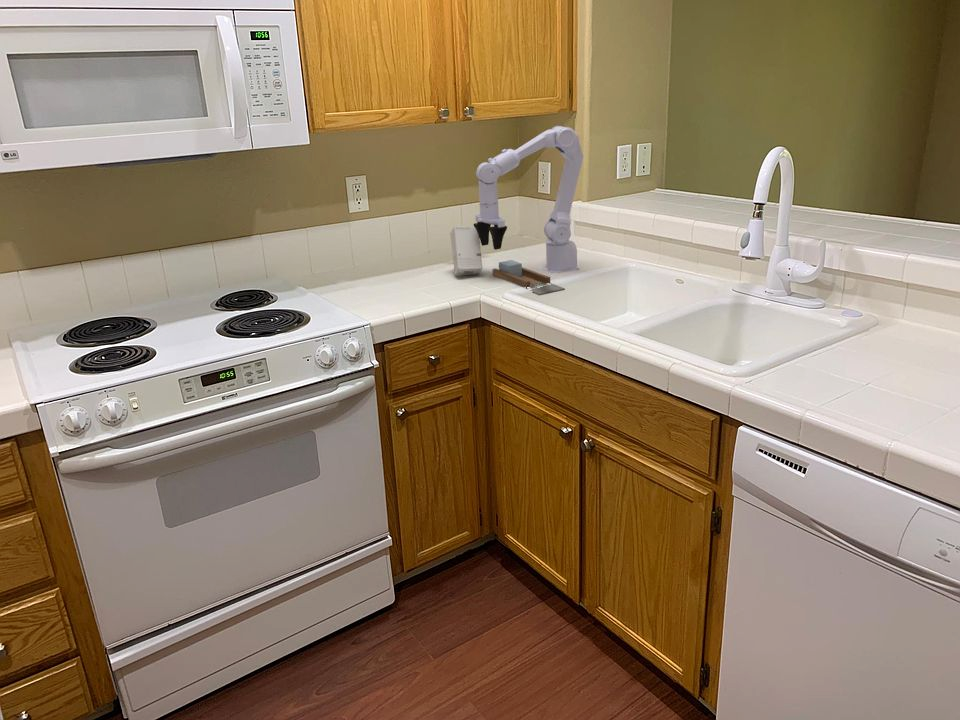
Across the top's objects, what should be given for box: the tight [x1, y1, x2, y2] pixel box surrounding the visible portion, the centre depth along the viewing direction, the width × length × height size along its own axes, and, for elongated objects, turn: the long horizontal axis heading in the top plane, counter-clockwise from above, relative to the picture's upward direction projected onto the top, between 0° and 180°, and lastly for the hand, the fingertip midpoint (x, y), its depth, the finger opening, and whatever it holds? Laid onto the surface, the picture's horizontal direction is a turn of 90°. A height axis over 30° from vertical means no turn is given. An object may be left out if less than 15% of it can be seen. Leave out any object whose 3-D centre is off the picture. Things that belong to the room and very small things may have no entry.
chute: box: [492, 266, 566, 296], centre depth 221 cm, size 9×27×2 cm, turn 29°
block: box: [498, 259, 523, 277], centre depth 229 cm, size 5×6×4 cm
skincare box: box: [450, 225, 483, 276], centre depth 232 cm, size 8×6×15 cm
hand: (491, 247), depth 227 cm, fingers open, 7 cm apart
